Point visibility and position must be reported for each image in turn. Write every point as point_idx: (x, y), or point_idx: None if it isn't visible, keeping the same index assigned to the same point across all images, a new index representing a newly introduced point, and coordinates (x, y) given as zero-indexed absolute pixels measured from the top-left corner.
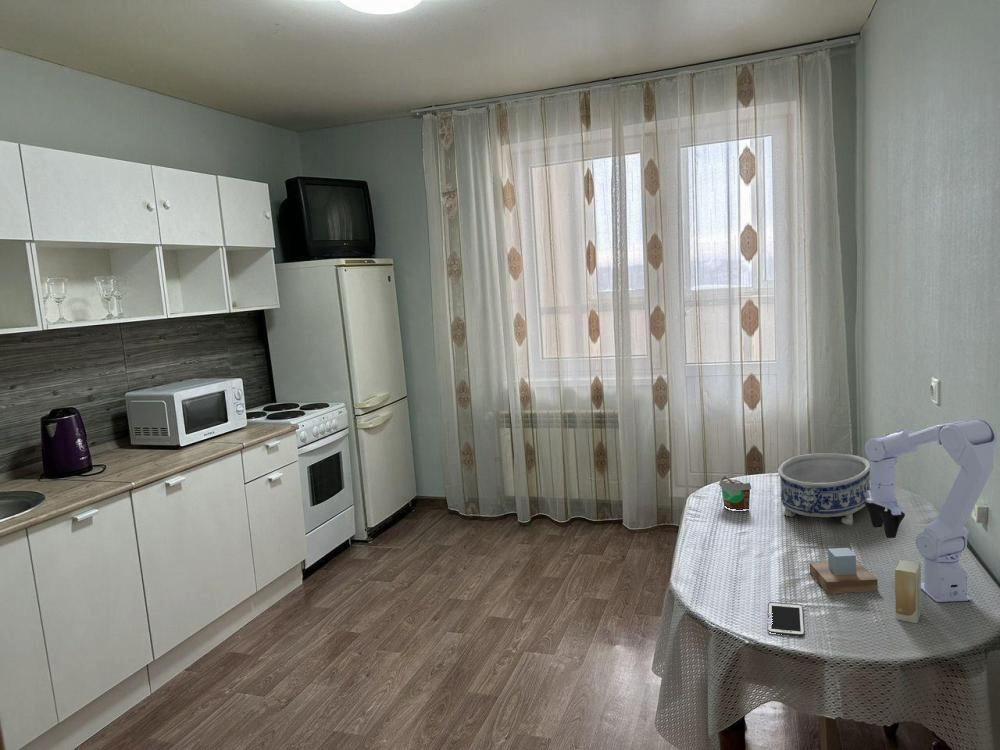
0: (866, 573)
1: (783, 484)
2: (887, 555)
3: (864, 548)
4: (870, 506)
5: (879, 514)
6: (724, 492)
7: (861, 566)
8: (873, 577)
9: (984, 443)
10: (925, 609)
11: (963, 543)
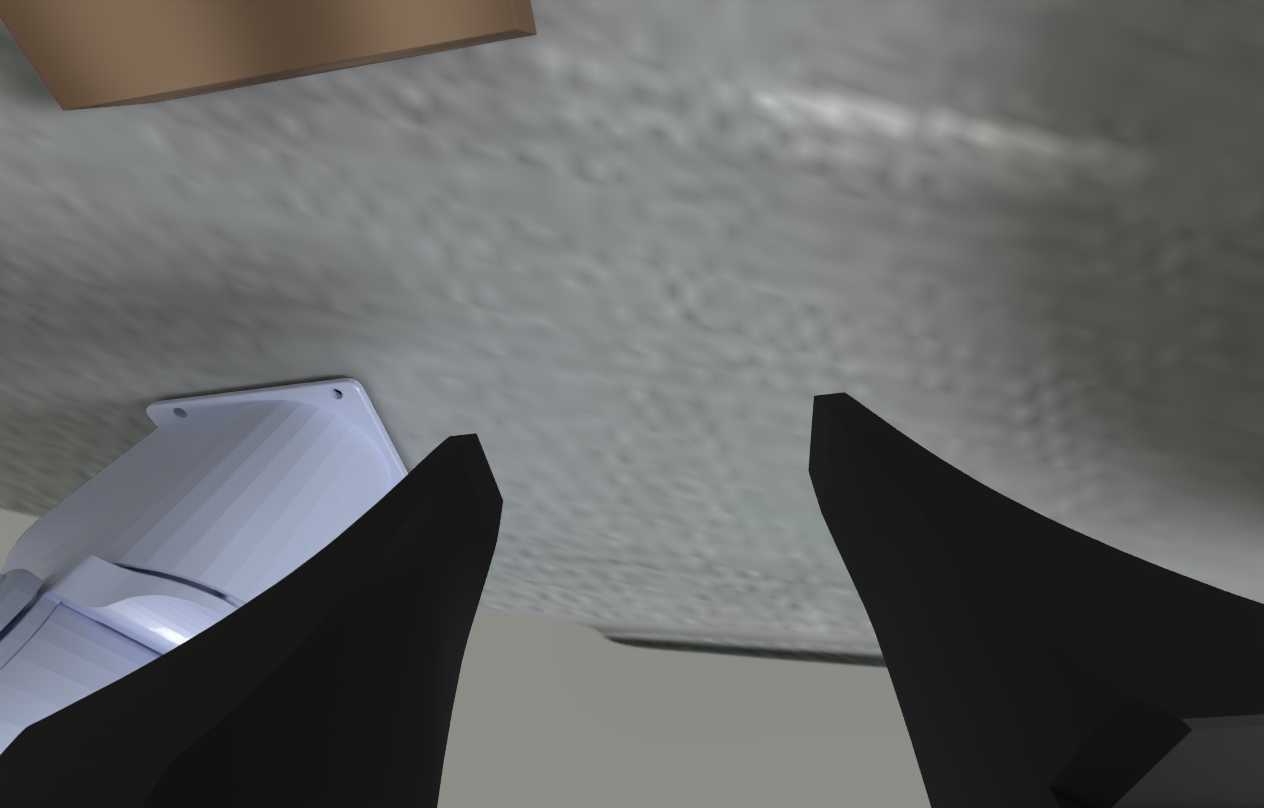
0: (162, 35)
1: None
2: (815, 355)
3: (982, 243)
4: (1022, 668)
5: (885, 595)
6: None
7: (338, 33)
8: (93, 83)
9: None
10: (22, 324)
11: None
